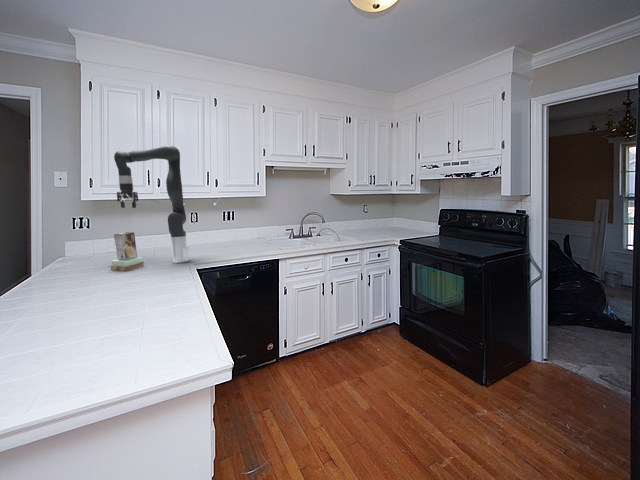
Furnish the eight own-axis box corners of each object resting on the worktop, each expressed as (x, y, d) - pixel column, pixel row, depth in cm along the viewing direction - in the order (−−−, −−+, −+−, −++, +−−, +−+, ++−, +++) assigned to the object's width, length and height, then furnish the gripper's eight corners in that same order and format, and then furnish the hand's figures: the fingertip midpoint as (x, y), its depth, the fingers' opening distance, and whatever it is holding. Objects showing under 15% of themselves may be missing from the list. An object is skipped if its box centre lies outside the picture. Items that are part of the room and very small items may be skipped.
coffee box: (129, 256, 204) (126, 231, 201) (137, 257, 202) (134, 232, 199) (117, 260, 195) (113, 234, 192) (125, 260, 193) (122, 234, 190)
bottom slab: (144, 267, 204) (143, 261, 204) (127, 272, 192) (127, 266, 191) (128, 266, 207) (127, 261, 206) (111, 271, 194) (110, 265, 194)
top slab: (142, 262, 203) (141, 257, 202) (125, 266, 192) (124, 261, 191) (130, 261, 206) (129, 256, 205) (113, 265, 195) (112, 260, 194)
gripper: (139, 182, 211) (142, 207, 214) (121, 183, 214) (124, 207, 217) (130, 182, 204) (133, 208, 207) (112, 183, 207) (114, 208, 210)
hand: (128, 207), depth 212 cm, fingers open, 8 cm apart
